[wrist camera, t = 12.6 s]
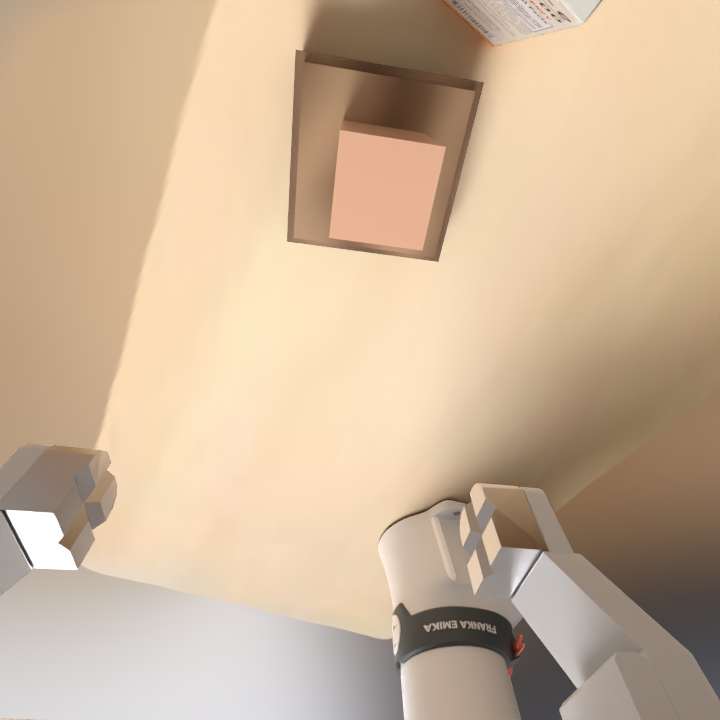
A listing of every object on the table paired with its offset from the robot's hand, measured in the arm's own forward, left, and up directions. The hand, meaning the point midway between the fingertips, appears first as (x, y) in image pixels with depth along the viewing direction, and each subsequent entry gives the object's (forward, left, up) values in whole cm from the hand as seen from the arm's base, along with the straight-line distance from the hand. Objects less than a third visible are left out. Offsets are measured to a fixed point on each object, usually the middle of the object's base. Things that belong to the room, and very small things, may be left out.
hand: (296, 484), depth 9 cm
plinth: (-2, -3, -26) cm, 27 cm away
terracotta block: (-2, -4, -22) cm, 23 cm away
